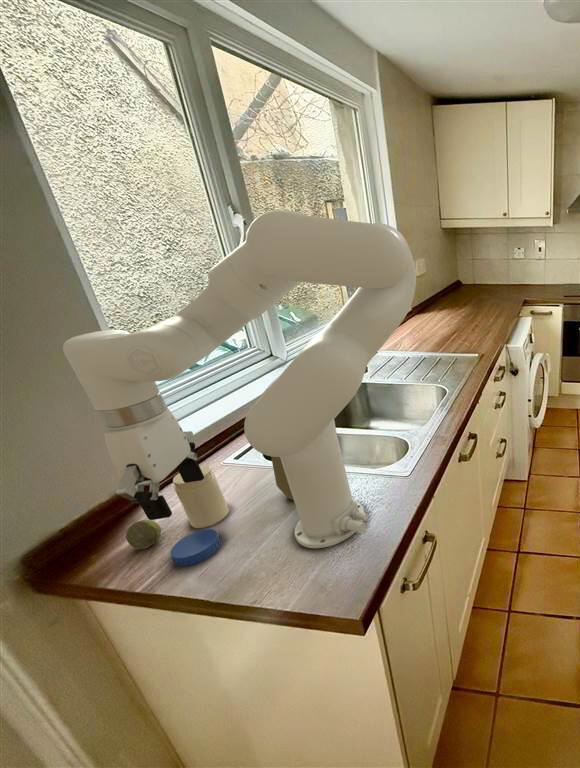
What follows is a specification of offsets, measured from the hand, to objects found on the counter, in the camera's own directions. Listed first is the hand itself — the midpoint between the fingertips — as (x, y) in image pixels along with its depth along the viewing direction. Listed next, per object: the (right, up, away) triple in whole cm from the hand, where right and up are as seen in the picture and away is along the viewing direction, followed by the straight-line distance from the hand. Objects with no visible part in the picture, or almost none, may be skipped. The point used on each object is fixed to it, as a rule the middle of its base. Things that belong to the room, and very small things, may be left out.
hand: (179, 497), depth 67 cm
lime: (-11, -11, +7) cm, 17 cm away
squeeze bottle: (+11, -4, +19) cm, 22 cm away
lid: (0, -10, +4) cm, 10 cm away
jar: (-4, -8, +13) cm, 15 cm away
